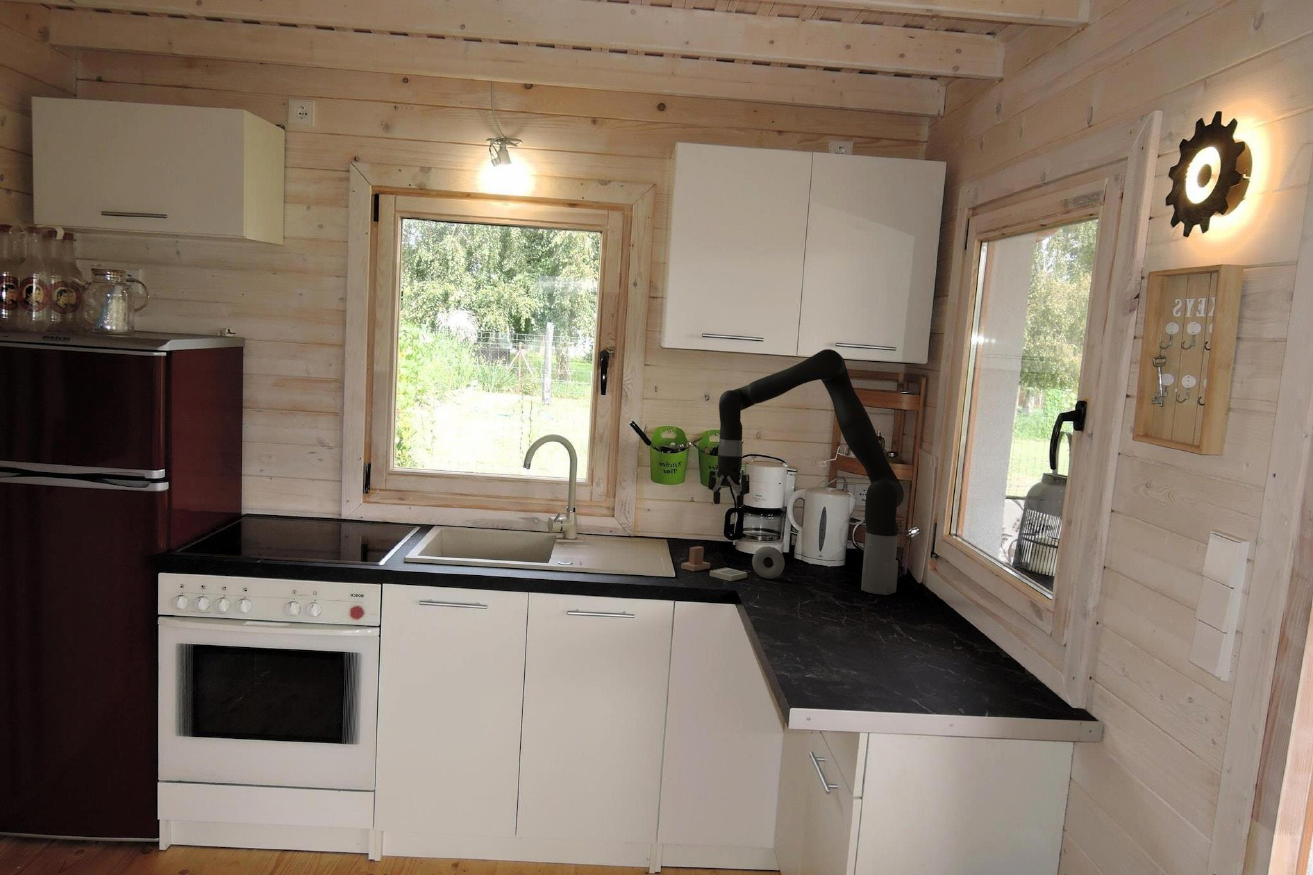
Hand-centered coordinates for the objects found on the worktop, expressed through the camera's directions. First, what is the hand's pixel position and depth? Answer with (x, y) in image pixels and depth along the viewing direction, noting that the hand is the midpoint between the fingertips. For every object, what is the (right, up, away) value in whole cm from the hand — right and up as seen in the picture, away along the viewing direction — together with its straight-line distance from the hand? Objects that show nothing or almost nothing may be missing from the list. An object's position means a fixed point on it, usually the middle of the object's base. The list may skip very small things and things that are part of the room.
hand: (727, 505), depth 290 cm
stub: (-10, -19, -1) cm, 22 cm away
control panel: (-1, -21, -10) cm, 23 cm away
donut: (+11, -22, -9) cm, 26 cm away
